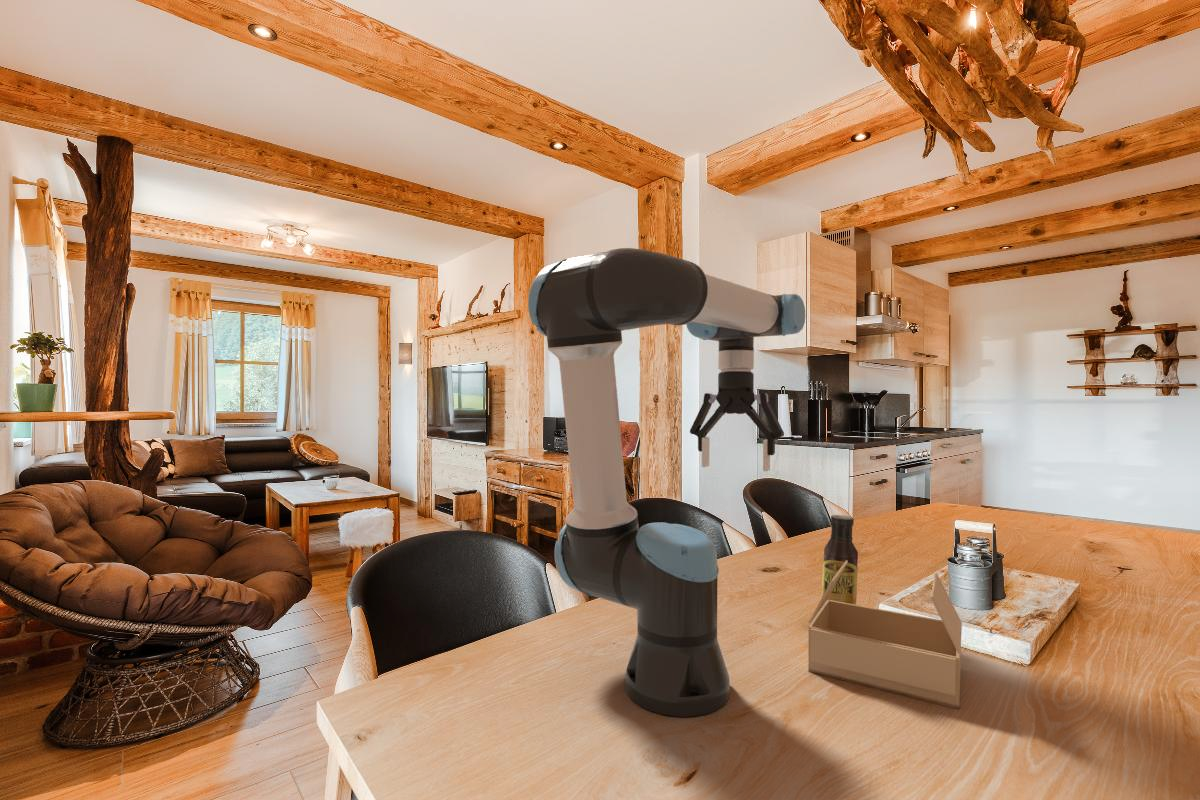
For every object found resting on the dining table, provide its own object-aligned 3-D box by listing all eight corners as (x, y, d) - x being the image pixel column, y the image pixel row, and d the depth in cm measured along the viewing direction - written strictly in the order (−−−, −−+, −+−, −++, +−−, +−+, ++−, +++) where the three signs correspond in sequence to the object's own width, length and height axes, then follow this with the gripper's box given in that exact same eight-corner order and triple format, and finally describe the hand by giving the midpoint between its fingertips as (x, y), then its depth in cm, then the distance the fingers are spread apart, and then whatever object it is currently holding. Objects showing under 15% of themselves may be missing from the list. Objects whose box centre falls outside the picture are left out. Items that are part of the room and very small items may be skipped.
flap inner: (810, 623, 90) (833, 581, 89) (808, 622, 91) (831, 580, 89) (827, 599, 101) (848, 561, 99) (825, 598, 101) (846, 560, 99)
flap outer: (960, 653, 80) (932, 596, 81) (958, 653, 80) (930, 597, 82) (961, 622, 90) (937, 573, 92) (959, 623, 90) (935, 573, 92)
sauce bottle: (819, 621, 110) (819, 517, 110) (823, 610, 115) (823, 511, 115) (856, 628, 107) (856, 521, 107) (858, 616, 112) (859, 514, 112)
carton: (959, 710, 79) (959, 659, 79) (807, 672, 90) (807, 627, 90) (960, 667, 91) (960, 623, 91) (827, 638, 102) (827, 599, 102)
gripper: (798, 370, 122) (798, 470, 122) (688, 373, 135) (688, 463, 135) (790, 369, 116) (789, 474, 116) (676, 371, 129) (675, 466, 129)
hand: (735, 468), depth 125 cm, fingers open, 13 cm apart
